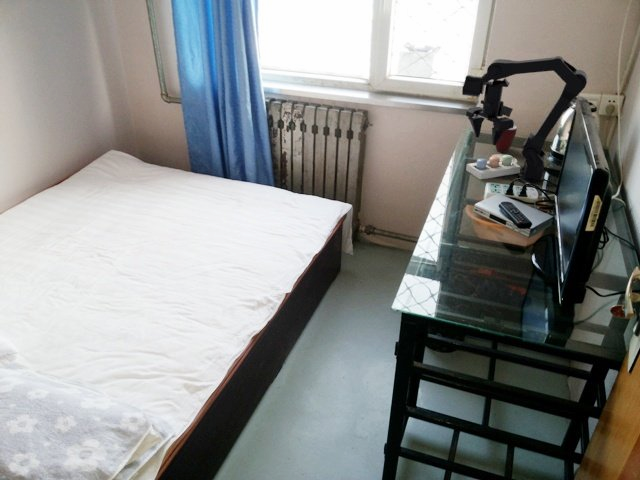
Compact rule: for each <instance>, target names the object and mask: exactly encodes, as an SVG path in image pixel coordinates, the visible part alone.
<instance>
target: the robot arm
mask: <svg viewBox="0 0 640 480" xmlns="http://www.w3.org/2000/svg"><path fill="white" fill-rule="evenodd" d="M552 71H553V72H554V73H555V74H556V75H557V76H558V77H559V79H561V80H562V81H563V82H564V86H563V89H562V91H561V94H560V96H559V97H558V99H557V100H556V101H555V103H554V104H553V106H552V108H551V109H550V111H549V112H548V114H547V116H546V117H545V118H544V120H543V122H542V123H541V125H540V127H539V128H538V129H537V131H535V132H534V133H532V132H529V134H528V137H527V138H526V139H525V140H524V142H523V144H522V146H521V148H522V151H521V154H522V157H523V159H525V162H524V164H523V168H522V173H521V174H520V173H519V174H518V176H519V177H520V178H522V179H523V180H525V181H527V182H529V183H536V182H542V181H545V178H546V177H545V178H544V177H543V173H544V168H545V160H546V155H547V153H546V152H545V151H544V150H543V146H544V144H545V142H546V139H547V137H548V136H549V134H550V133H551V131H552V130H553V128H554V127H555V125H556V124H557V122H558V121H559V120H560V118H561V117H562V115H563V114H564V112H565V110H566V109H567V108H568V106H569V105H570V103H571V102H572V101H573V100H575V98H577V97H578V96H579V95H580V93H581V92H582V91H583V90H584V89H585V88H586V86H587V83H588V74H587V73H586V71H584V70H582V69H577V68H576V67H575V66H573V64H571V63H569V62H568V61H566V60H565V59H564V58H563V57H562V56H559V55H557V56H553V57H545V58H537V59H536V58H535V59H526V60H525V59H524V60H511V59H503V58H501V59H500V58H499V59H495V60H493V61H492V62H491V63H490V65H488V67H487V70H486V72H485V73H484V74H483V75H482V76H476V75H475V76H474V75H472V74H471V75H469V74H468V75H467V74H466V75H465V77H464V78H465V80H464V83H463V86H462V90H461V91H462V92H461V93H462V96H468V97H480V96H481V95H484V96H483V99H482V100H480V104H482V107H480V106H474V107H469V108H468V109H467V110H466V114H465V116H466V117H467V119H468V120H469V123H470V125H471V126H472V129H473V132H474V136H475V138H479V137H480V134H481V131H482V125H483V122H484V120H487V121H489V122H492V128H491V136H492V140H491V142H492V145H493V146H495V145H496V144H497V142H498V140H499V139H500V137H501V135H502V134H503V132H504V131H505V130H508V129H510V128H513V125H514V126H515V121H514V119H512V118H510V117H511V115H512V112H513V108H512V107H509V106H507V105H504V104H505V103H504V101H503V100H502V96H503V91H504V90H503V89H504V88H508V87H509V86H510V82H509V81H508V79H507V78H509V77H511V76H515V75H521V74H522V75H523V74H532V73H542V72H552ZM503 116H505V117H503Z"/></svg>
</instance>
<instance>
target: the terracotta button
mask: <svg viewBox="0 0 640 480" xmlns="http://www.w3.org/2000/svg"><path fill="white" fill-rule="evenodd" d="M500 159H501V158H500V157H498V156H490V157H489V160H488V161H489V167H491V168H497V167H499V162H500Z"/></svg>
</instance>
